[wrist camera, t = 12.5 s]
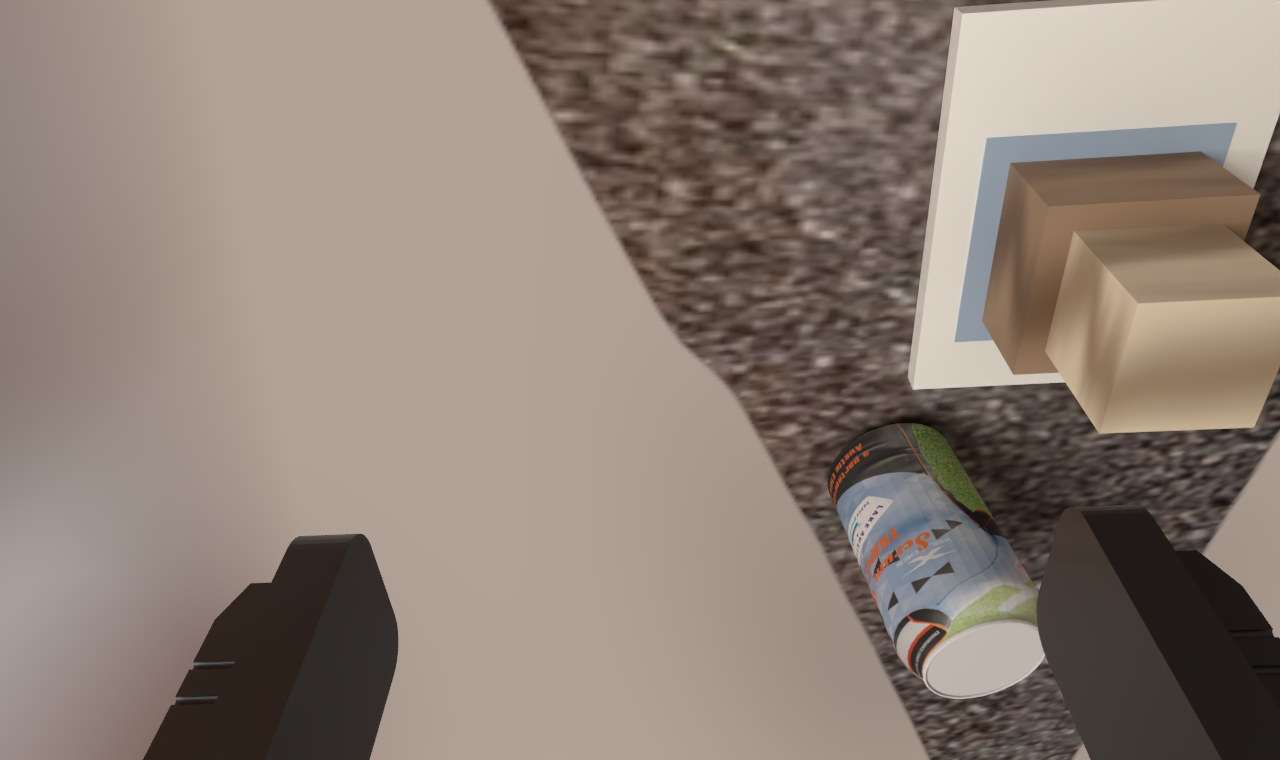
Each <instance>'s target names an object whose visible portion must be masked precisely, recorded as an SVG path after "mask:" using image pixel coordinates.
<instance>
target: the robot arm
mask: <svg viewBox="0 0 1280 760" xmlns="http://www.w3.org/2000/svg"><path fill="white" fill-rule="evenodd" d="M1036 613H1037V626H1038V632H1039V637H1040V641H1041V644H1042V648H1043V651H1044V653H1045V656H1046V658H1047V660H1048V663H1049V665H1050V667H1051V669H1052V672H1053V674H1054V676H1055V679H1056V681H1057V683H1058V686H1059V688H1060V690H1061V692H1062V695H1063V697H1064V699H1065V702H1066V704H1067V706H1068V709H1069V711H1070V713H1071V715H1072V718H1073V720H1074V722H1075V725H1076V727H1077V729H1078V731H1079V734H1080V736H1081V738H1082V741H1083V743H1084V745H1085V748H1086V750H1087V752H1088V754H1089V757H1090V759H1091V760H1280V638H1278V637H1277V638H1275V637H1274V636H1273V633H1272V630H1273V629H1272V627H1271V626H1270V624H1269V623H1268V621H1267V620H1266V619H1265V617H1264V616H1263V614H1262V613H1261V612H1260V611H1259V609H1258V607H1257V606H1256V605H1255V603H1254V602H1253V600H1252V599H1251V598H1250V596H1249V595H1248V593H1247V592H1246V591H1245V589H1244V588H1243V586H1241V585H1240V584H1239V583H1238V582H1236V581H1235V580H1234V579H1233V578H1231V577H1230V576H1229V575H1227V574H1226V573H1225V572H1223V571H1222V570H1221V569H1220V568H1218V567H1217V566H1216V565H1215V564H1214V563H1212V562H1211V561H1210V560H1208V559H1207V558H1206V557H1205V556H1203V555H1202V554H1201V553H1199V552H1198V551H1197V550H1193V551H1175V550H1174V548H1173V547H1172V545H1171V544H1170V542H1169V541H1168V539H1167V538H1166V536H1165V535H1164V533H1163V532H1162V530H1161V529H1160V527H1159V526H1158V524H1157V523H1156V521H1155V520H1154V518H1153V517H1152V515H1151V514H1150V513H1149V512H1148V511H1147V510H1146V509H1145V508H1143V507H1142V506H1139V505H1120V506H1095V507H1071V508H1067V509H1065V510H1064V511H1063V513H1062V514H1061V516H1060V519H1059V522H1058V526H1057V529H1056V533H1055V536H1054V540H1053V544H1052V547H1051V551H1050V554H1049V558H1048V562H1047V565H1046V569H1045V572H1044V576H1043V580H1042V583H1041V587H1040V590H1039V594H1038V599H1037V612H1036ZM397 655H398V629H397V622H396V618H395V614H394V612H393V609H392V606H391V603H390V600H389V597H388V594H387V592H386V589H385V586H384V583H383V580H382V577H381V574H380V571H379V568H378V565H377V562H376V560H375V556H374V554H373V551H372V548H371V545H370V543H369V541H368V539H367V538H366V537H365V536H364V535H363V534H347V535H346V534H345V535H321V536H299V537H297V538H295V539H294V540H293V541H292V542H291V544H290V545H289V547H288V549H287V551H286V553H285V555H284V557H283V559H282V561H281V564H280V565H279V568H278V570H277V572H276V574H275V576H274V579H273V580H272V583H255V584H254V583H253V584H252V583H251V584H250V585H249V586H248V587H247V588H246V589H245V590H244V591H243V592H242V593H241V594H240V595H239V596H238V597H237V598H236V599H235V600H234V601H233V602H232V603H231V604H230V605H229V606H228V607H227V608H226V609H225V610H224V611H223V612H222V613H221V614H220V615H219V616H218V617H217V618H216V619H215V621H214V623H213V624H212V626H211V628H210V630H209V633H208V634H207V636H206V638H205V640H204V642H203V644H202V646H201V648H200V650H199V652H198V654H197V656H196V658H195V659H194V668H193V670H189V671H188V673H187V675H186V677H185V679H184V681H183V683H182V685H181V687H180V689H179V691H178V693H177V695H176V703H175V705H171V706H170V708H169V710H168V712H167V714H166V716H165V718H164V720H163V722H162V724H161V726H160V728H159V730H158V732H157V734H156V735H155V737H154V739H153V741H152V743H151V745H150V747H149V749H148V751H147V753H146V755H145V757H144V759H143V760H369V759H370V756H371V752H372V749H373V745H374V742H375V738H376V735H377V732H378V728H379V724H380V721H381V718H382V714H383V710H384V707H385V704H386V700H387V696H388V693H389V690H390V686H391V683H392V679H393V676H394V672H395V668H396V663H397Z"/></svg>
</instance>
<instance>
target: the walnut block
mask: <svg viewBox="0 0 1280 760" xmlns="http://www.w3.org/2000/svg"><path fill="white" fill-rule="evenodd" d="M1260 195H1261V194H1260V193H1258V192H1257V191H1255V190H1254V189H1253V188H1251V187H1250V186H1248V185H1247V184H1246V183H1244V182H1243V181H1241V180H1240V179H1239V178H1237V177H1236V176H1234V175H1233V174H1232V173H1230V172H1229V171H1227V170H1226V169H1225V168H1223V167H1222V166H1220V165H1219V164H1218V163H1216V162H1215V161H1213V160H1212V159H1211V158H1209V157H1208V156H1206V155H1205V154H1204V153H1202V152H1201V151H1199V152H1182V153H1166V154H1149V155H1133V156H1116V157H1100V158H1083V159H1067V160H1050V161H1034V162H1017V163H1010V167H1009V172H1008V178H1007V183H1006V189H1005V195H1004V200H1003V206H1002V212H1001V217H1000V223H999V229H998V234H997V240H996V245H995V251H994V257H993V262H992V268H991V274H990V279H989V285H988V290H987V296H986V302H985V307H984V313H983V319H982V322H983V324H984V325H985V327H986V329H987V330H988V332H989V334H990V336H991V337H992V339H993V341H994V342H995V344H996V346H997V348H998V349H999V351H1000V353H1001V354H1002V356H1003V358H1004V360H1005V361H1006V363H1007V365H1008V366H1009V368H1010V370H1011V372H1012V373H1013V375H1020V374H1041V373H1059V372H1058V370H1057V369H1056V367H1055V366H1054V364H1053V363H1052V361H1051V360H1050V358H1049V357H1048V355H1047V354H1046V352H1045V350H1046V345H1047V341H1048V337H1049V333H1050V329H1051V324H1052V320H1053V316H1054V312H1055V308H1056V303H1057V299H1058V295H1059V291H1060V287H1061V282H1062V278H1063V274H1064V270H1065V266H1066V261H1067V257H1068V253H1069V249H1070V245H1071V240H1072V236H1073V232H1074V231H1083V230H1102V229H1122V228H1142V227H1161V226H1181V225H1201V224H1221V223H1222V224H1223V225H1225V226H1226V227H1227V228H1228V229H1230V230H1231V231H1232V232H1233V233H1234V234H1236V235H1237V236H1238V237H1239V238H1241V239H1242V240H1243V241H1244V240H1245V237H1246V234H1247V232H1248V229H1249V226H1250V223H1251V220H1252V217H1253V215H1254V212H1255V209H1256V206H1257V203H1258V200H1259V198H1260Z"/></svg>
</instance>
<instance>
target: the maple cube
mask: <svg viewBox="0 0 1280 760" xmlns="http://www.w3.org/2000/svg"><path fill="white" fill-rule="evenodd" d="M1045 352H1046V354H1047V355H1048V357H1049V358H1050V360H1051V361H1052V363H1053V364H1054V366H1055V367H1056V369H1057V370H1058V372H1059V373H1060V375H1061V376H1062V378H1063V379H1064V381H1065V382H1066V384H1067V385H1068V387H1069V388H1070V390H1071V391H1072V393H1073V395H1074V396H1075V398H1076V399H1077V401H1078V402H1079V404H1080V405H1081V407H1082V408H1083V410H1084V411H1085V413H1086V414H1087V416H1088V417H1089V419H1090V420H1091V422H1092V423H1093V425H1094V426H1095V428H1096V429H1097V431H1098V432H1099V434H1101V433H1126V432H1151V431H1176V430H1202V429H1227V428H1252V427H1254V426H1255V424H1256V422H1257V419H1258V417H1259V415H1260V412H1261V410H1262V408H1263V405H1264V403H1265V401H1266V398H1267V396H1268V393H1269V391H1270V389H1271V386H1272V384H1273V382H1274V379H1275V377H1276V375H1277V372H1278V370H1279V368H1280V270H1279V269H1277V268H1276V267H1275V266H1274V265H1272V264H1271V263H1270V262H1269V261H1268V260H1266V259H1265V258H1264V257H1263V256H1261V255H1260V254H1259V253H1258V252H1256V251H1255V250H1254V249H1253V248H1252V247H1250V246H1249V245H1248V244H1247V243H1245V242H1244V241H1243V240H1242V239H1241V238H1239V237H1238V236H1237V235H1236V234H1234V233H1233V232H1232V231H1231V230H1230V229H1228V228H1227V227H1226V226H1225V225H1223V224H1222V223H1221V224H1201V225H1181V226H1161V227H1142V228H1122V229H1102V230H1083V231H1074V232H1073V236H1072V240H1071V245H1070V249H1069V253H1068V257H1067V261H1066V266H1065V270H1064V274H1063V278H1062V282H1061V287H1060V291H1059V295H1058V299H1057V303H1056V308H1055V312H1054V316H1053V320H1052V324H1051V329H1050V333H1049V337H1048V341H1047V345H1046V350H1045Z"/></svg>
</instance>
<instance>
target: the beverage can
mask: <svg viewBox="0 0 1280 760" xmlns="http://www.w3.org/2000/svg"><path fill="white" fill-rule="evenodd" d="M828 489H829V493H830V496H831V498H832V500H833V503H834V505H835V507H836V510H837V512H838V515H839V517H840V519H841V522H842V524H843V527H844V529H845V531H846V534H847V536H848V539H849V541H850V543H851V546H852V548H853V550H854V553H855V555H856V558H857V560H858V562H859V565H860V567H861V570H862V572H863V574H864V577H865V579H866V582H867V584H868V586H869V589H870V591H871V594H872V596H873V598H874V601H875V603H876V605H877V608H878V610H879V613H880V615H881V617H882V620H883V622H884V625H885V627H886V629H887V632H888V634H889V637H890V639H891V641H892V644H893V646H894V649H895V651H896V653H897V655H898V657H899V659H900V661H901V663H902V664H903V665H904V666H905V667H906V668H907V669H908V670H909V671H910V672H911V673H913V674H914V675H916V676H918V677H919V678H921V679H923V680H924V682H925V684H926V686H927V687H928V688H929V689H930V690H931V691H932V692H934V693H935V694H937V695H940V696H943V697H947V698H955V699H965V698H975V697H980V696H985V695H988V694H992V693H995V692H998V691H1000V690H1003V689H1005V688H1007V687H1010V686H1012V685H1014V684H1015V683H1017V682H1019V681H1021V680H1022V679H1024V678H1025V677H1026V676H1028V675H1029V674H1030V673H1031V672H1033V671H1034V670H1035V669H1036V668H1037V667H1038V666H1039V664H1040V663H1041V662H1042V661H1043V659H1044V657H1045V653H1044V651H1043V648H1042V644H1041V641H1040V637H1039V632H1038V626H1037V613H1036V612H1037V599H1038V594H1039V593H1038V591H1037V589H1036V588H1035V586H1034V584H1033V583H1032V581H1031V579H1030V578H1029V576H1028V575H1027V573H1026V571H1025V570H1024V568H1023V566H1022V565H1021V563H1020V561H1019V560H1018V558H1017V556H1016V555H1015V553H1014V551H1013V550H1012V548H1011V546H1010V545H1009V543H1008V541H1007V540H1006V538H1005V536H1004V535H1003V533H1002V531H1001V530H1000V528H999V526H998V525H997V523H996V521H995V520H994V518H993V516H992V515H991V513H990V512H989V510H988V508H987V507H986V505H985V503H984V502H983V500H982V498H981V497H980V495H979V493H978V492H977V490H976V488H975V487H974V485H973V483H972V482H971V480H970V478H969V477H968V475H967V473H966V472H965V470H964V468H963V467H962V465H961V463H960V462H959V460H958V458H957V457H956V455H955V453H954V452H953V450H952V449H951V447H950V445H949V444H948V442H947V441H946V439H945V438H944V436H943V435H941V434H940V433H939V432H938V431H936V430H935V429H933V428H931V427H928V426H925V425H922V424H915V423H897V424H891V425H886V426H883V427H880V428H877V429H874V430H872V431H869V432H867V433H865V434H864V435H862V436H860V437H858V438H857V439H855V440H854V441H853V442H851V443H850V444H849V445H848V446H847V447H846V448H845V449H844V450H843V451H842V452H841V453H840V454H839V455H838V457H837V458H836V459H835V461H834V463H833V465H832V467H831V469H830V472H829V476H828Z"/></svg>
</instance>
